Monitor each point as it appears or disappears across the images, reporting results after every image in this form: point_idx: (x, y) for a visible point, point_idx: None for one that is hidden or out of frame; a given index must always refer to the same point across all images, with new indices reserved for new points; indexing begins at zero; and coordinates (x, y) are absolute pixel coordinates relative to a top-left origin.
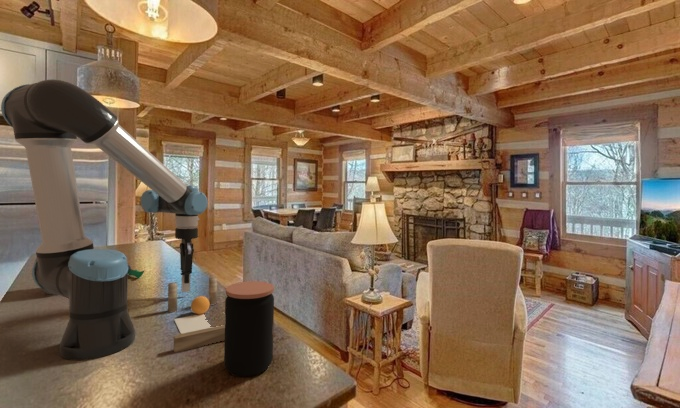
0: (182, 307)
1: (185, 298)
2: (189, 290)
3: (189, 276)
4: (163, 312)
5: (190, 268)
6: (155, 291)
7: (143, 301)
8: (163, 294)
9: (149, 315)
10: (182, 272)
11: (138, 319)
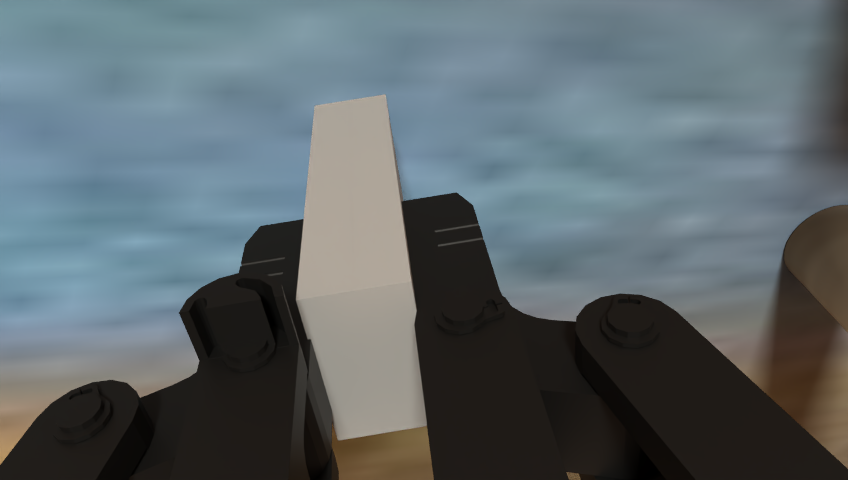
0: (782, 154)
1: (435, 122)
2: (385, 110)
3: (405, 257)
4: (804, 309)
5: (766, 441)
6: (12, 434)
7: (370, 473)
8: (163, 357)
9: (799, 392)
10: (332, 452)
11: (833, 439)
